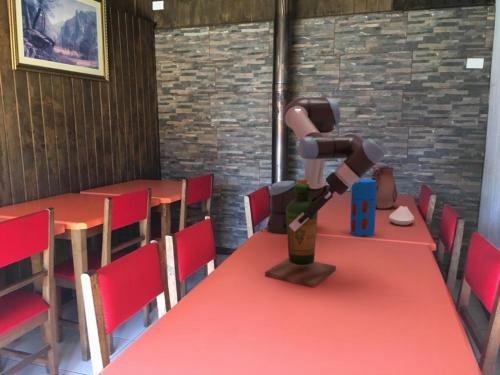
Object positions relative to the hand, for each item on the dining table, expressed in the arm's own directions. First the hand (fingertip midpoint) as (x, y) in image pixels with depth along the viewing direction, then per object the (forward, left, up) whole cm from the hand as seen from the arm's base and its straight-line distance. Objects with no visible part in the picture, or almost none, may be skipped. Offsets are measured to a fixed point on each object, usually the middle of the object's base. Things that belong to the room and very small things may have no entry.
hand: (293, 224), depth 134 cm
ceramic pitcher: (-4, +121, -17) cm, 123 cm away
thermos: (+4, +60, -17) cm, 63 cm away
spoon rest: (+14, +95, -18) cm, 97 cm away
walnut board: (+3, +1, -17) cm, 17 cm away
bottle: (+3, +1, -13) cm, 14 cm away
